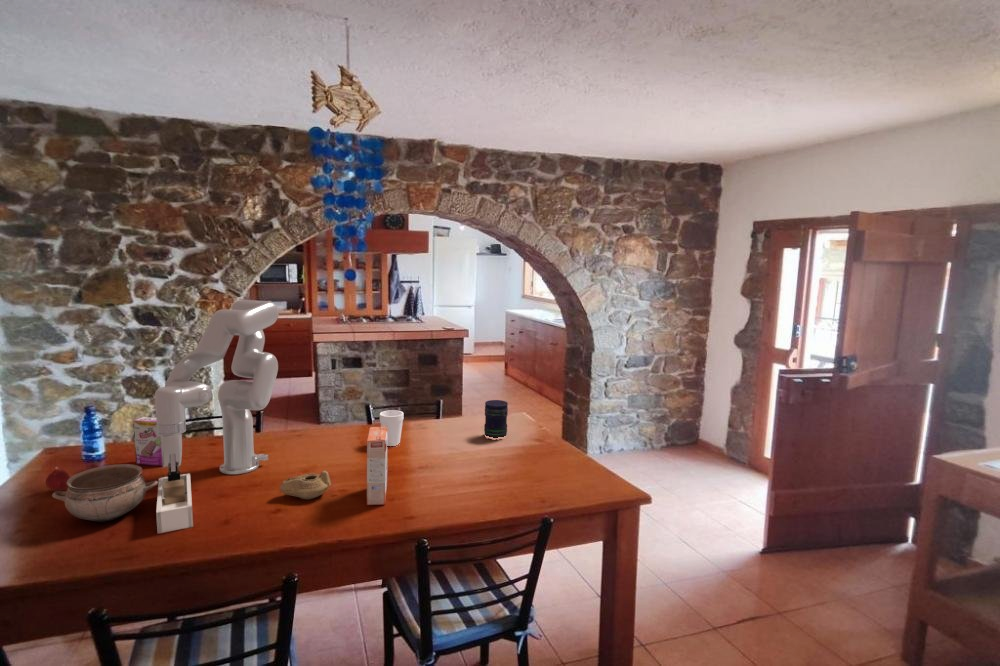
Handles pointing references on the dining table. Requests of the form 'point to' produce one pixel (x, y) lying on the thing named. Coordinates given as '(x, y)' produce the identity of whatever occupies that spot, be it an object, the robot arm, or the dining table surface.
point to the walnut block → (174, 491)
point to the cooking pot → (105, 492)
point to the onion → (57, 479)
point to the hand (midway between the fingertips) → (174, 485)
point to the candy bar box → (147, 442)
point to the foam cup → (392, 425)
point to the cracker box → (377, 466)
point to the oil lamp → (306, 485)
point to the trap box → (174, 508)
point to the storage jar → (496, 418)
